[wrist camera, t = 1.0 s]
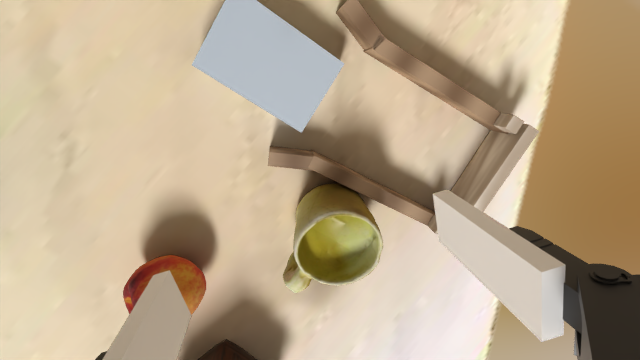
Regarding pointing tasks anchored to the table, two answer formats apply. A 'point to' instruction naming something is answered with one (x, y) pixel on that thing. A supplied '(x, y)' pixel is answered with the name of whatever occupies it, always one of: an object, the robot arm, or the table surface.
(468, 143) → the table surface
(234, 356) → the manual coffee grinder
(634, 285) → the robot arm
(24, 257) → the table surface
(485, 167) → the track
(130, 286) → the fruit
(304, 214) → the mug
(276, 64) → the pale blue block
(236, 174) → the table surface
